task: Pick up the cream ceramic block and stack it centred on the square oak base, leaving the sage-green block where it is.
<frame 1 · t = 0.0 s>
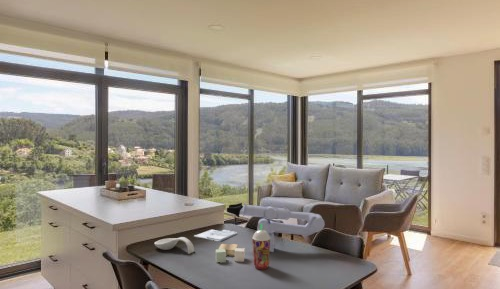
hand: (227, 208, 183), 22 cm above the table, tool horizontal, fingers open, 7 cm apart
oak base: (228, 252, 178), on the table
cream block: (239, 259, 167), on the table
sage block: (220, 260, 166), on the table
smoothie: (261, 267, 157), on the table
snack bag: (215, 236, 210), on the table
spoon rest: (174, 250, 183), on the table
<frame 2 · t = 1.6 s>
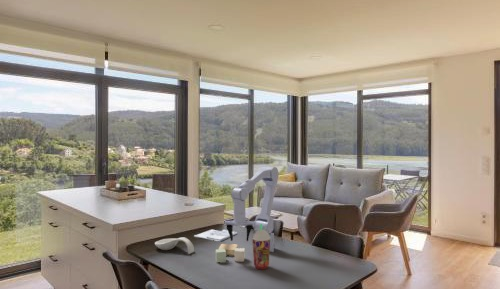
hand: (239, 240, 167), 9 cm above the table, tool pointing down, fingers open, 7 cm apart
nothing on the table moved.
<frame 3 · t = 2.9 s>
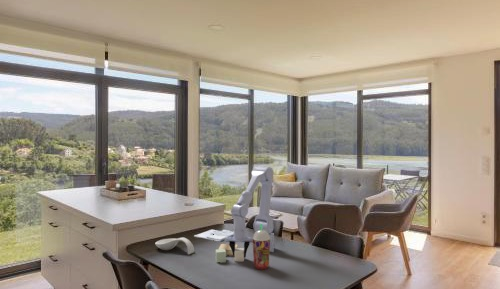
hand: (239, 256, 167), 1 cm above the table, tool pointing down, fingers closed on cream block, 4 cm apart
cream block: (239, 259, 167), on the table, touching gripper
everything else where it was.
when the fingers open (5 cm above the table, at t = 5.6 s): cream block stays where it is, resting on oak base.
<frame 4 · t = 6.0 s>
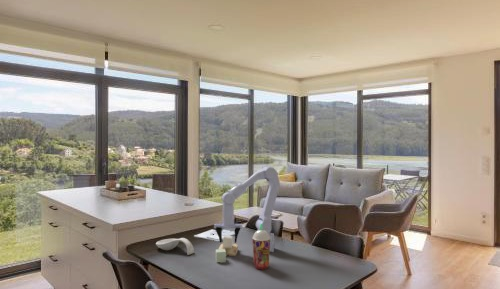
hand: (228, 242, 178), 5 cm above the table, tool pointing down, fingers open, 7 cm apart
cream block: (228, 246, 177), point 3 cm above the table, touching oak base
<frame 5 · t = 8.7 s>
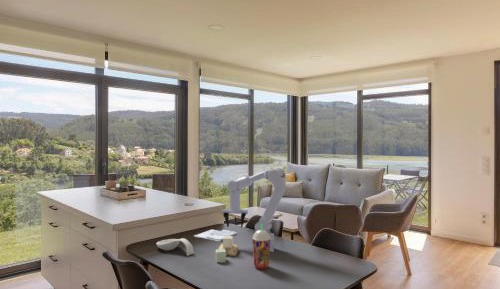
hand: (234, 226, 189), 10 cm above the table, tool pointing down, fingers open, 7 cm apart
at the end: cream block 0.3 cm off-centre on the oak base, point 3.0 cm above the oak base's base; cream block tilted 0°; sage block moved 0.1 cm from its start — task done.
